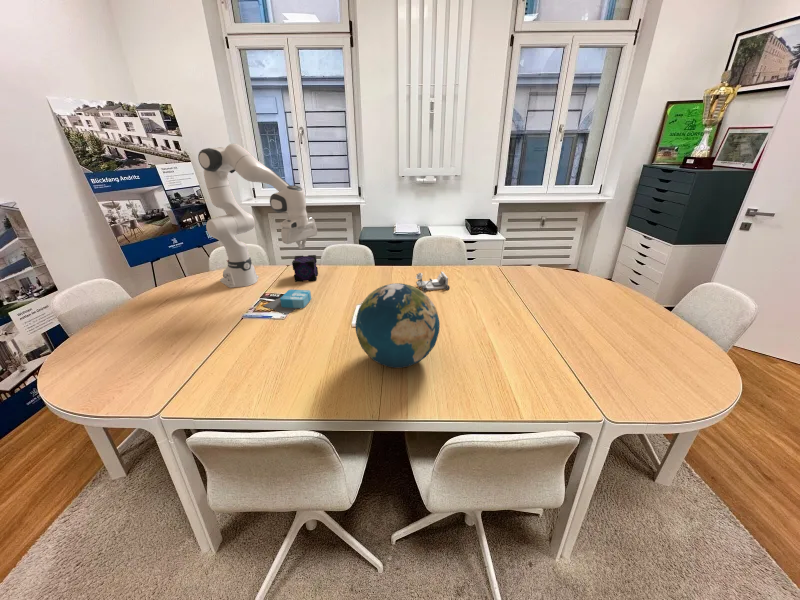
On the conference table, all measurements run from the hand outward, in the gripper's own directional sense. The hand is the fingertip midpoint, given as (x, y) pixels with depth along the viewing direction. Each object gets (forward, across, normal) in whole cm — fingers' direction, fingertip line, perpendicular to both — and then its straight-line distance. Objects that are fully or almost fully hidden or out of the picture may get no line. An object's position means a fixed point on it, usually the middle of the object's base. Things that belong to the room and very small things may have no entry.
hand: (301, 248), depth 175 cm
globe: (+24, +25, +74) cm, 82 cm away
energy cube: (+26, -16, -17) cm, 35 cm away
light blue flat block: (+23, +6, +2) cm, 23 cm away
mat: (+25, +16, +1) cm, 30 cm away
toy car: (+25, -42, +52) cm, 72 cm away
